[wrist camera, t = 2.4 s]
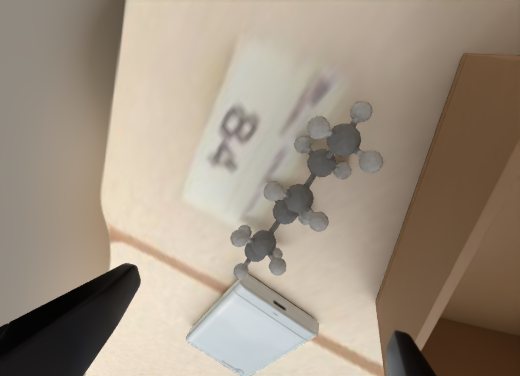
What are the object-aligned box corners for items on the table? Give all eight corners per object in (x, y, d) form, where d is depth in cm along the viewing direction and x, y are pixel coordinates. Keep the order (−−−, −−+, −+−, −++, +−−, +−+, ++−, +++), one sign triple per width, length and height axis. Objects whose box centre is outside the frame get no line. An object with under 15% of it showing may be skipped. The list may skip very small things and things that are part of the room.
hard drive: (246, 380, 29) (318, 339, 22) (183, 340, 28) (237, 285, 22) (251, 364, 30) (319, 321, 24) (191, 326, 30) (244, 270, 23)
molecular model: (274, 259, 22) (257, 311, 17) (230, 232, 22) (203, 278, 17) (396, 116, 14) (418, 147, 10) (331, 74, 14) (326, 89, 10)
